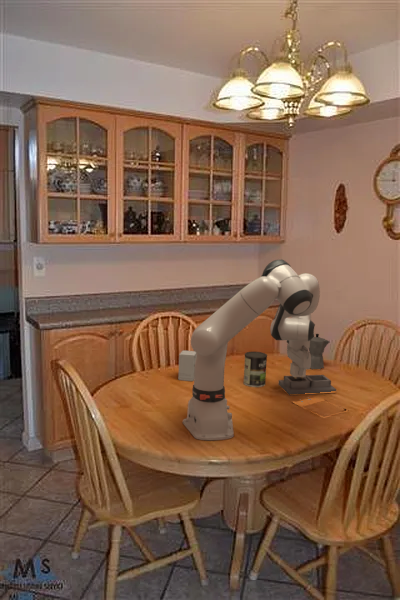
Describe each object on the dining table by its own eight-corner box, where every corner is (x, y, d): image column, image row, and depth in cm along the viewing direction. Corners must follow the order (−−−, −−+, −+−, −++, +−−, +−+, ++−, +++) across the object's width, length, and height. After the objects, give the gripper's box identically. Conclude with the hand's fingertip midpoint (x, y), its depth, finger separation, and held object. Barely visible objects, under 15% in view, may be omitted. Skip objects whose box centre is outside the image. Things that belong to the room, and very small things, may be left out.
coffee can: (269, 383, 232) (271, 354, 230) (258, 389, 224) (259, 359, 222) (250, 378, 238) (252, 350, 236) (239, 383, 230) (240, 354, 228)
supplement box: (193, 381, 231) (194, 355, 229) (177, 380, 233) (178, 354, 230) (196, 376, 238) (197, 351, 236) (181, 375, 240) (182, 349, 238)
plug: (305, 378, 223) (306, 366, 221) (293, 379, 222) (294, 366, 220) (301, 375, 227) (302, 362, 226) (289, 375, 226) (290, 363, 225)
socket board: (335, 393, 222) (336, 382, 221) (288, 395, 218) (289, 384, 217) (322, 382, 235) (323, 372, 234) (278, 384, 231) (279, 373, 230)
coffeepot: (329, 366, 261) (331, 333, 257) (326, 371, 252) (328, 337, 249) (299, 362, 267) (302, 329, 263) (296, 367, 258) (298, 333, 255)
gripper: (315, 349, 212) (313, 380, 214) (298, 337, 232) (296, 366, 234) (301, 349, 211) (299, 380, 213) (285, 337, 231) (283, 366, 233)
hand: (297, 372), depth 224 cm, fingers closed on plug, 5 cm apart
